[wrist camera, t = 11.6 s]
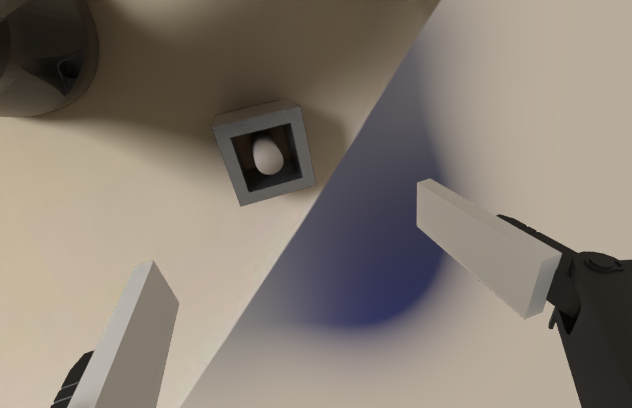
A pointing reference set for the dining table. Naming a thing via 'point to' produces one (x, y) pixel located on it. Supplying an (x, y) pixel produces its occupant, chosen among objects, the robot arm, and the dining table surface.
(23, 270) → the dining table surface
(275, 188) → the collar
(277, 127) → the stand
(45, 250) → the dining table surface
